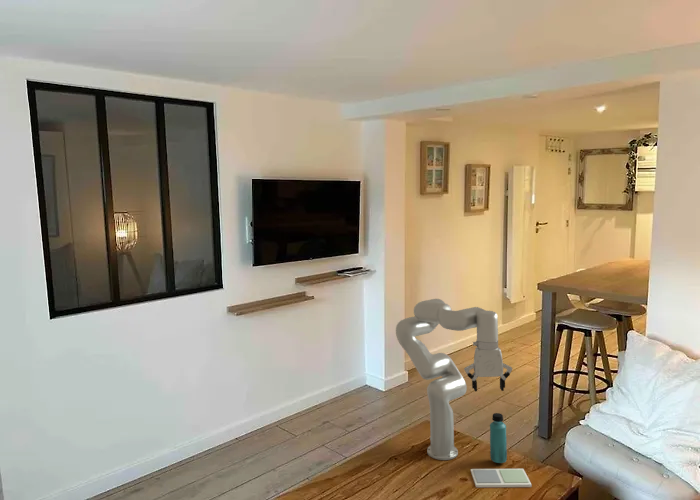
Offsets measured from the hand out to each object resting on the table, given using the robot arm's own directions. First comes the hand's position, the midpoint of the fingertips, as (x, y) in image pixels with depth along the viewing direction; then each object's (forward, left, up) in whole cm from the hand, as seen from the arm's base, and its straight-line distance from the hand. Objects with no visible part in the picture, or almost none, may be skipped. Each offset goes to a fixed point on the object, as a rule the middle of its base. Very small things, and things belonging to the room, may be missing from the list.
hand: (488, 389), depth 192 cm
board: (+2, +3, -35) cm, 35 cm away
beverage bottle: (-9, +9, -35) cm, 37 cm away
